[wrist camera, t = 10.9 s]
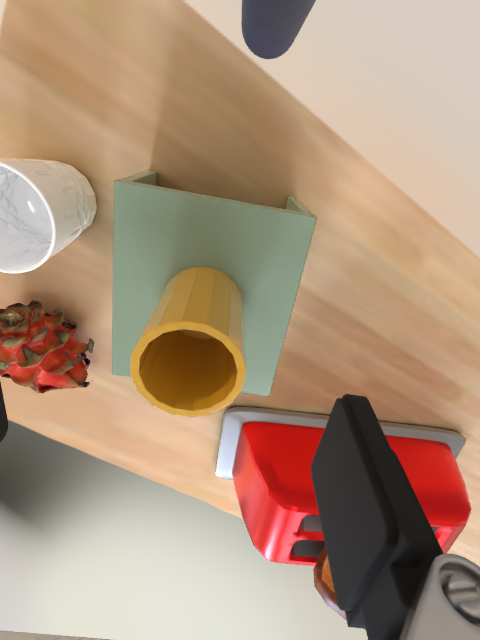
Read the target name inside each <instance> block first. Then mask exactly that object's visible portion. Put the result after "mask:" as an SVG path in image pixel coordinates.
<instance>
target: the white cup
mask: <svg viewBox="0 0 480 640" xmlns="http://www.w3.org/2000/svg"><path fill="white" fill-rule="evenodd" d="M96 211H97V205H96V197H95V192H94V190H93V189H92V187H91V185H90V183H89V182H88V180H87V178H86V177H85V176H84V175H83V174H81V173H80V172H79V171H78V170H77V169H75V168H74V167H73V166H72V165H69V164H65V163H62V162H58V161H55V160H40V159H24V158H0V272H5V273H23V272H27V271H31V270H33V269H35V268H37V267H39V266H40V265H42V264H43V263H44V262H46V261H47V260H48V259H50V258H51V257H52V256H54V255H55V254H56V253H58V252H59V251H61V250H62V249H63V248H65V247H66V246H67V245H68V244H69V243H71V242H72V241H73V240H74V239H76V238H77V237H78V236H79V235H80V233H81V232H83V231H84V230H85V229H86V228H87V227H89V226H90V225H91V224H92V222H93V219H94V217H95V214H96Z"/></svg>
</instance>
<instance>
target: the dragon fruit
mask: <svg viewBox="0 0 480 640" xmlns="http://www.w3.org/2000/svg"><path fill="white" fill-rule="evenodd" d="M57 311H58V312H59V313H57V314H54V315H51V314H49V313H46V314H44V313H45V310H44V308H43V306H42V305H41V304H40V302H38V301H34V300H32V301H31V303H30V304H29V305H28V306H25V305H23V304H21V303H16V304H13V305H10V306H8V307H7V308H6V309H0V376H1V377H6V378H11V379H12V380H13V381H14V382H15V383H16V384H19V385H21V386H25V387H30V388H31V389H33V390H34V391H36V392H37V393H44V392H47V391H50V390H56V389H63V388H76V387H87V386H88V385H89V383H90V382H85V380H86V378H87V375H88V374H87V371H86V370H87V369H88V367H89V364H90V360H89V359H87V358H86V354H85V352H86V351H87V350H89V352H90V353H92V352H93V346H94V341H93V340H92V339H89V343H88V344H84V343H81V342H78V341H75V340H74V339H73V338H72V335H73V333H74V332H75V331H76V329H77V325H76V324H75V323H73V322H71V321H69V320H66V319H65V320H64V318H65V316H64V313H63V311H62V310H61V309H59V308H57V309H54V311H53V312H57ZM61 324H68V325H70V326H71V327H64V326H62V325H61ZM79 354H81V356H79ZM83 359H84V361H85V363H86V364H85V363H84V362H83V361H82V360H83ZM92 381H93V380H92Z"/></svg>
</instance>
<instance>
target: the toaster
mask: <svg viewBox="0 0 480 640" xmlns="http://www.w3.org/2000/svg"><path fill="white" fill-rule="evenodd" d="M329 417H330V416H328V415H319V414H310V413H301V412H292V411H283V410H274V409H265V408H255V407H234V408H230V409H227V410H226V411H225V414H224V419H223V426H222V432H221V438H220V444H219V450H218V456H217V463H216V469H215V473H216V475H217V476H219V477H221V478H225V479H231V480H234V484H235V489H236V493H237V497H238V501H239V505H240V509H241V513H242V516H243V519H244V521H245V524H246V527H247V529H248V532H249V535H250V537H251V540H252V542H253V545H254V546H255V547H256V549H257V550H258V551H259V552H260V553H261V554H262V555H263V556H264V557H265V558H266V560H269V561H273V562H277V563H286V564H298V565H310V566H315V567H314V583H315V588H316V589H317V591H318V592H319V594H320V595H321V596H322V598H323V600H324V601H325V603H326V604H327V605H328V606H329V607H330V608H332V609H333V610H334V611H335V612H337V613H338V614H339V615H340V616H342V617H343V618H344V619H345V620H347V619H346V614H345V611H342V610H340V609H339V607H338V605H337V601H336V596H335V591H334V586H333V581H332V576H331V571H330V566H329V561H328V556H327V551H326V546H325V542H324V537H323V532H322V527H321V522H320V517H319V512H318V507H317V502H316V497H315V492H314V487H313V482H312V477H311V464H312V461H313V458H314V455H315V453H316V450H317V448H318V445H319V443H320V440H321V437H322V435H323V432H324V430H325V427H326V425H327V422H328V419H329ZM378 422H379V424H380V426H381V428H382V430H383V432H384V435H385V437H386V439H387V441H388V443H389V445H390V447H391V449H392V450H394V452H395V453H396V455H397V456H398V458H399V461H400V463H401V465H402V467H403V469H404V471H405V473H406V475H407V477H408V479H409V482H410V484H411V486H412V488H413V490H414V492H415V494H416V496H417V498H418V500H419V503H420V505H421V507H422V509H423V511H424V513H425V515H426V517H427V519H428V521H429V523H430V526H431V528H432V530H433V532H434V534H435V536H436V538H437V540H438V542H439V544H440V547H441V549H442V551H443V553H444V554H446V553H447V552H448V550H449V549H450V547H451V546H452V545H453V543H454V542H455V540H456V539H457V537H458V536H459V534H460V533H461V532H462V530H463V529H464V527H465V526H466V523H467V521H468V518H469V516H470V513H471V506H470V502H469V498H468V494H467V490H466V486H465V483H464V480H463V478H462V475H461V473H460V470H459V468H458V465H457V463H456V460H455V459H456V457H457V456H458V454H459V452H460V451H461V449H462V447H463V445H464V444H465V441H466V439H465V438H464V437H463V436H462V435H461V434H459V433H457V432H455V431H451V430H446V429H440V428H433V427H425V426H417V425H408V424H399V423H390V422H381V421H378ZM363 629H365V630H366V628H363Z"/></svg>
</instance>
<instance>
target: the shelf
mask: <svg viewBox="0 0 480 640" xmlns="http://www.w3.org/2000/svg"><path fill="white" fill-rule="evenodd" d="M156 179H157V172H156V171H151V170H148V171H145V172H142V173H139V174H136V175H133V176H130V177H126V178H123V179H119V180H116V181H114V242H113V323H112V375H119V376H126V377H132V376H131V373H130V365H131V353H132V351H133V349H134V347H135V345H136V343H137V342H138V340H139V338H140V336H141V334H142V332H143V330H144V328H145V326H146V324H147V322H148V320H149V318H150V316H151V314H152V312H153V310H154V308H155V306H156V304H157V302H158V300H159V298H160V296H161V294H162V293H163V291H164V289H165V287H166V285H167V284H168V282H169V281H170V280H171V279H172V278H173V277H174V276H175V275H176V274H178V273H180V272H181V271H183V270H186V269H189V268H193V267H209V268H214V269H216V270H219V271H221V272H223V273H225V274H226V275H228V276H229V277H230V278H231V279H232V280H233V281H234V282H235V283H236V284H237V286H238V287H239V289H240V291H241V293H242V297H243V302H244V307H245V340H246V376H245V381H244V385H243V389H242V390H241V393H249V394H256V395H263V396H269V395H270V391H271V387H272V384H273V380H274V376H275V372H276V369H277V365H278V361H279V357H280V354H281V350H282V346H283V342H284V339H285V335H286V331H287V327H288V324H289V320H290V316H291V312H292V309H293V305H294V301H295V297H296V294H297V290H298V286H299V282H300V279H301V275H302V271H303V267H304V264H305V260H306V256H307V252H308V249H309V245H310V241H311V237H312V234H313V230H314V226H315V222H316V219H317V218H316V217H315V216H314V215H313V214H312V213H311V212H310V211H309V210H308V209H307V208H306V207H305V206H304V205H303V204H302V203H301V202H300V201H299V200H298V199H297V198H296V197H291V196H288V199H287V204H286V208H285V209H280V208H275V207H269V206H264V205H258V204H253V203H247V202H242V201H236V200H231V199H225V198H220V197H214V196H209V195H204V194H198V193H193V192H187V191H182V190H176V189H171V188H165V187H160V186H156Z"/></svg>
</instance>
